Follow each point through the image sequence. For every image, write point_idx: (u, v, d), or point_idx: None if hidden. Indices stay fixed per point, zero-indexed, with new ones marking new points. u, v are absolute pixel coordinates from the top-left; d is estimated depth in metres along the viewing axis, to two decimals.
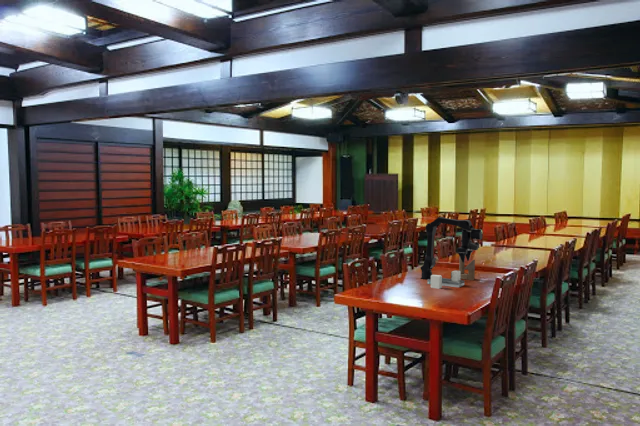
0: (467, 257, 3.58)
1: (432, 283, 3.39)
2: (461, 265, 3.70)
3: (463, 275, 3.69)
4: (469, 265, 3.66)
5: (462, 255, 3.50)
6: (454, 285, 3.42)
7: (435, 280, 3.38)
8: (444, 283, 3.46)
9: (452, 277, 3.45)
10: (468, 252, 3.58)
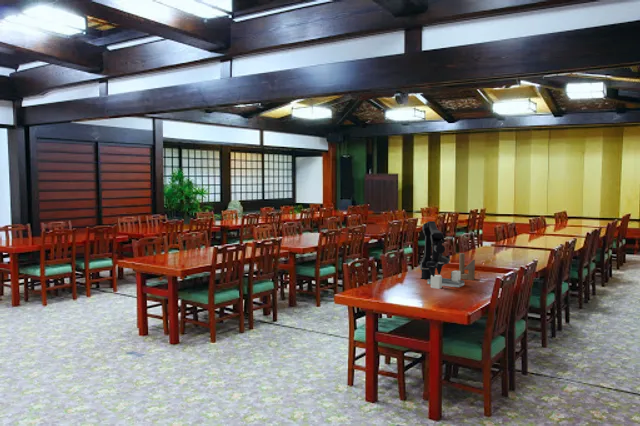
0: (438, 271, 3.44)
1: (432, 283, 3.39)
2: (461, 265, 3.70)
3: (463, 275, 3.69)
4: (469, 265, 3.66)
5: (432, 269, 3.35)
6: (454, 285, 3.42)
7: (435, 280, 3.38)
8: (444, 283, 3.46)
9: (452, 277, 3.45)
10: (439, 265, 3.44)
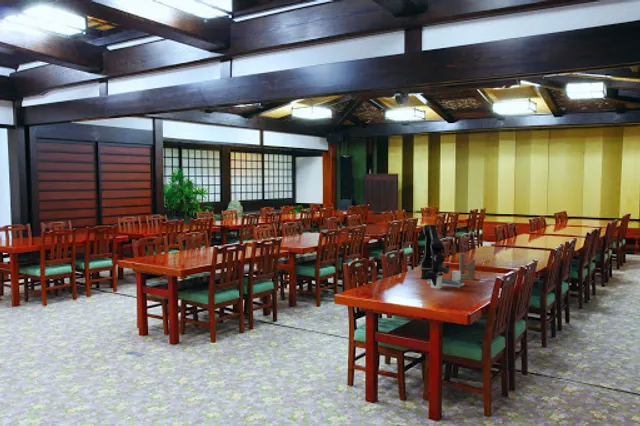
0: None
1: None
2: (461, 265, 3.70)
3: (463, 275, 3.69)
4: (469, 265, 3.66)
5: (433, 278, 3.37)
6: (454, 285, 3.42)
7: None
8: (444, 283, 3.46)
9: (452, 277, 3.45)
10: None
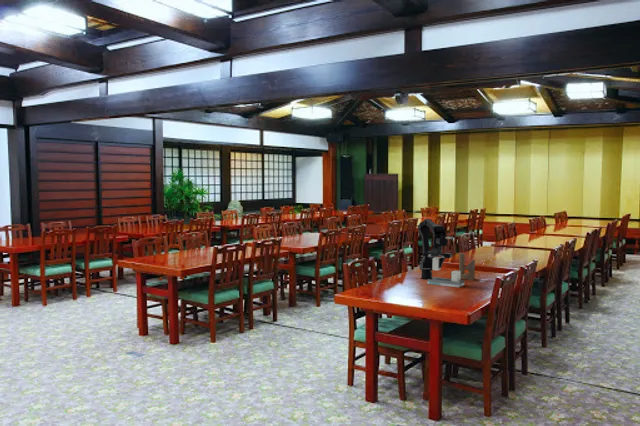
0: None
1: None
2: (461, 265, 3.70)
3: (463, 275, 3.69)
4: (469, 265, 3.66)
5: None
6: (454, 285, 3.42)
7: None
8: (444, 283, 3.46)
9: (452, 277, 3.45)
10: None
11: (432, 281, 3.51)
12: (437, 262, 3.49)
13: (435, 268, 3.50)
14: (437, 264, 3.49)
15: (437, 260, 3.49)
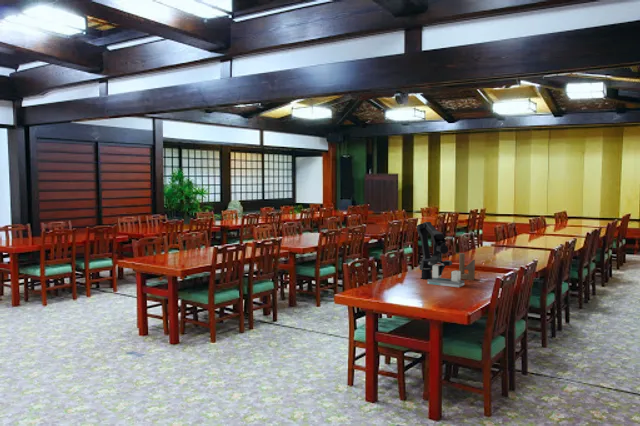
0: None
1: None
2: (461, 265, 3.70)
3: (463, 275, 3.69)
4: (469, 265, 3.66)
5: None
6: (454, 285, 3.42)
7: None
8: (444, 283, 3.46)
9: (452, 277, 3.45)
10: None
11: (432, 281, 3.51)
12: (437, 269, 3.51)
13: (435, 275, 3.52)
14: (437, 271, 3.51)
15: (437, 267, 3.51)
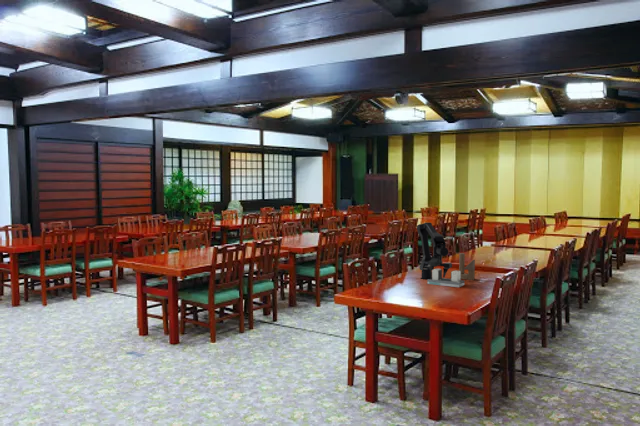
0: None
1: None
2: (461, 265, 3.70)
3: (463, 275, 3.69)
4: (469, 265, 3.66)
5: None
6: (454, 285, 3.42)
7: None
8: (444, 283, 3.46)
9: (452, 277, 3.45)
10: None
11: (432, 281, 3.51)
12: (437, 274, 3.51)
13: None
14: (437, 276, 3.51)
15: (437, 272, 3.51)
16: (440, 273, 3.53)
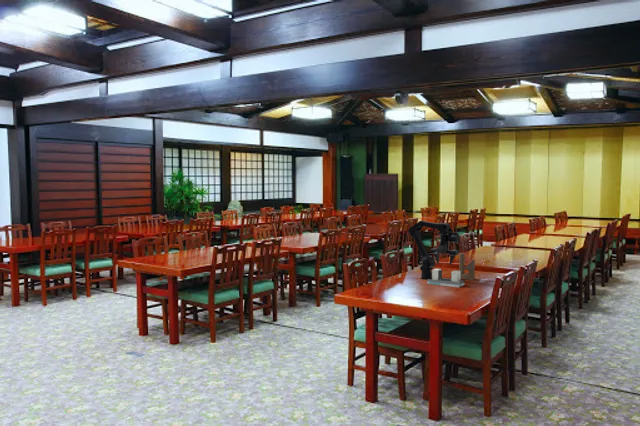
0: None
1: None
2: (461, 265, 3.70)
3: (463, 275, 3.69)
4: (469, 265, 3.66)
5: None
6: (454, 285, 3.42)
7: None
8: (444, 283, 3.46)
9: (452, 277, 3.45)
10: None
11: (432, 281, 3.51)
12: (437, 274, 3.51)
13: None
14: (437, 276, 3.51)
15: (437, 272, 3.51)
16: (440, 273, 3.53)
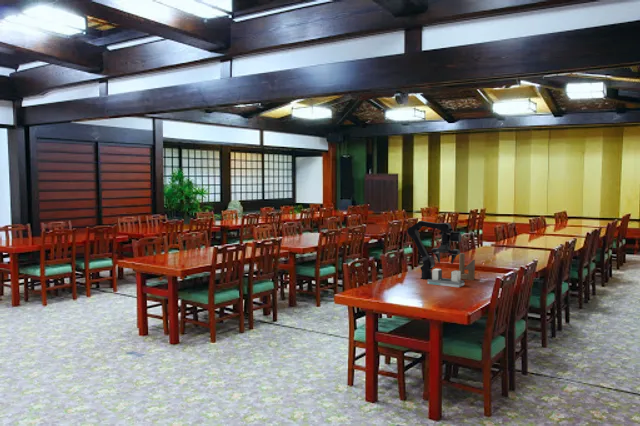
0: None
1: None
2: (461, 265, 3.70)
3: (463, 275, 3.69)
4: (469, 265, 3.66)
5: None
6: (454, 285, 3.42)
7: None
8: (444, 283, 3.46)
9: (452, 277, 3.45)
10: None
11: (432, 281, 3.51)
12: (437, 274, 3.51)
13: None
14: (437, 276, 3.51)
15: (437, 272, 3.51)
16: (440, 273, 3.53)
